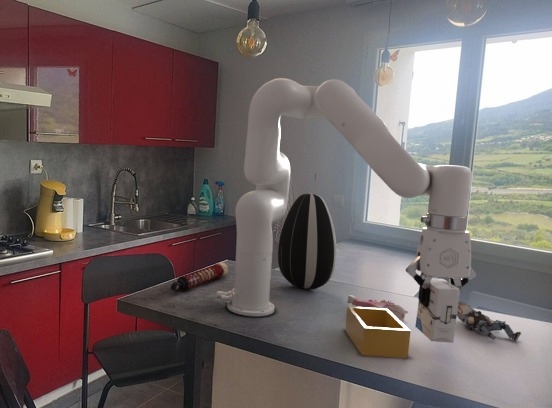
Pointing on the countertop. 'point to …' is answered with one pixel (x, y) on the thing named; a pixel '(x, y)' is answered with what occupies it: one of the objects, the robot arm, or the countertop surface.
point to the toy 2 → (483, 322)
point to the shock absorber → (200, 276)
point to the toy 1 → (379, 306)
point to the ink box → (439, 312)
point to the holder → (377, 332)
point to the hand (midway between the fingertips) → (437, 304)
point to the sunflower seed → (307, 243)
